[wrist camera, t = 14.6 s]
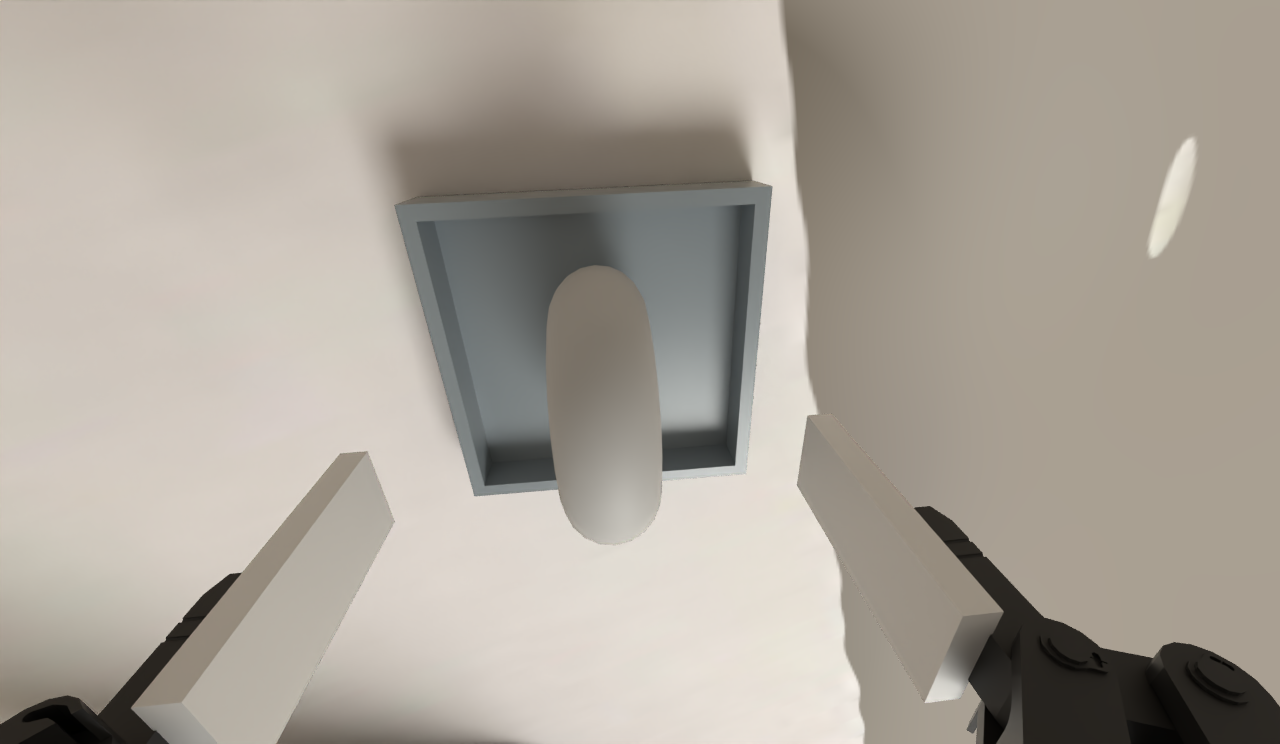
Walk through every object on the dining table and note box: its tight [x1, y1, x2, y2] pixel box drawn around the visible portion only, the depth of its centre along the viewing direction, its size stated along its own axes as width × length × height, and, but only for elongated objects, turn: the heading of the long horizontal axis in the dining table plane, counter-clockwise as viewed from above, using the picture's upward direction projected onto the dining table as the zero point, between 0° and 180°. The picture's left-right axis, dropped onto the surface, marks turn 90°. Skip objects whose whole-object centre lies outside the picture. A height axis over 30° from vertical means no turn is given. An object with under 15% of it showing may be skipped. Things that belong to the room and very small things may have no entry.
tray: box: [394, 181, 772, 496], centre depth 21 cm, size 14×14×2 cm
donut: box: [546, 265, 662, 545], centre depth 17 cm, size 10×4×10 cm, turn 2°
